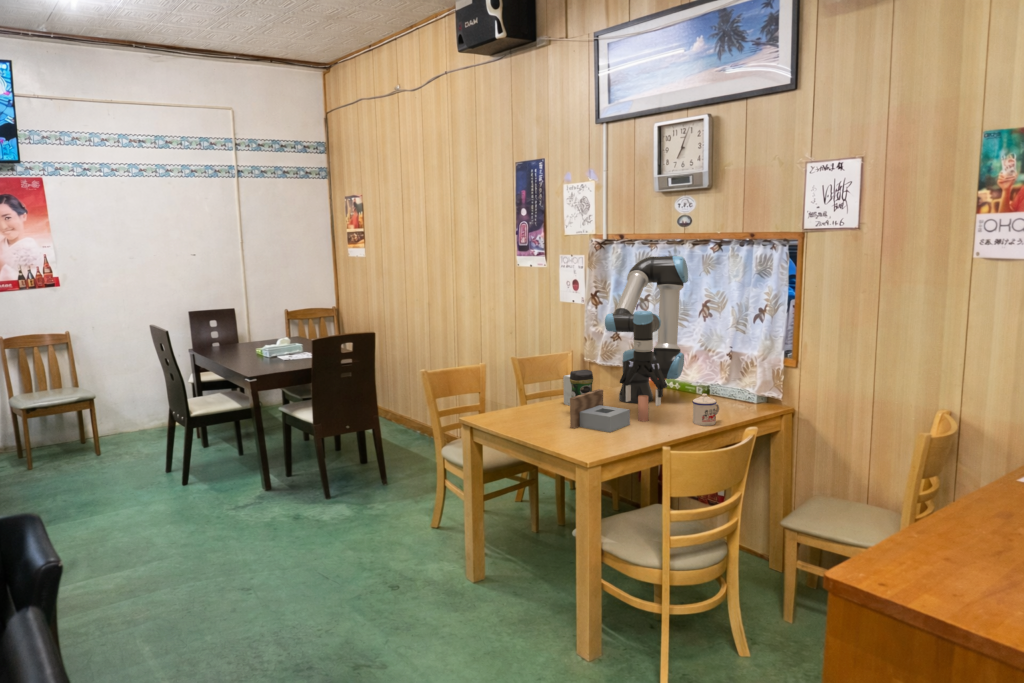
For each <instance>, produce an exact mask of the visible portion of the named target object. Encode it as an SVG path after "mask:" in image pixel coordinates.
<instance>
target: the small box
mask: <svg viewBox="0 0 1024 683" xmlns="http://www.w3.org/2000/svg"><path fill="white" fill-rule="evenodd" d="M562 379H563V405H566V406H569V407H570V398H571V395H572V386H571V382H570V374H567V375H563V378H562Z"/></svg>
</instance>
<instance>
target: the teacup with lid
mask: <svg viewBox="0 0 1024 683" xmlns="http://www.w3.org/2000/svg"><path fill="white" fill-rule="evenodd" d="M719 412H720V405H719V403H717V399H714V398H712V397H710V396H708V394H707V393H702V394H701V396H699V397H696V398H693V400H692V423H693V424H694V425H698V426H703V427H707V426H709V427H710V426H713V425H716V422H717V415H718V414H719Z"/></svg>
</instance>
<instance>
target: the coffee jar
mask: <svg viewBox="0 0 1024 683" xmlns="http://www.w3.org/2000/svg"><path fill="white" fill-rule="evenodd" d="M569 375H570V382H571V386H572V395H571V398H572V397H575V396H578V395H581V394H585V393H588V392H591V391H593V383H594V376H593V372H592V370H589V369H578V370H572V371H571V370H570V374H569Z"/></svg>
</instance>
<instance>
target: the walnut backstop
mask: <svg viewBox="0 0 1024 683" xmlns="http://www.w3.org/2000/svg"><path fill="white" fill-rule="evenodd" d="M599 405H602V406H604V389H601V388H600V389H599V388H598V389H595V390H592V391H591V392H588V393H585V394H581V395H578V396H575V397H572V398H570V406H569V412H570V413H569V414H570V415H569V416H570V417H569V418H570V419H569V420H570V422H569V424H570V429H578V428H581V427H580V412H581V411H584V410H587V409H590V408H593V407H596V406H599Z"/></svg>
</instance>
